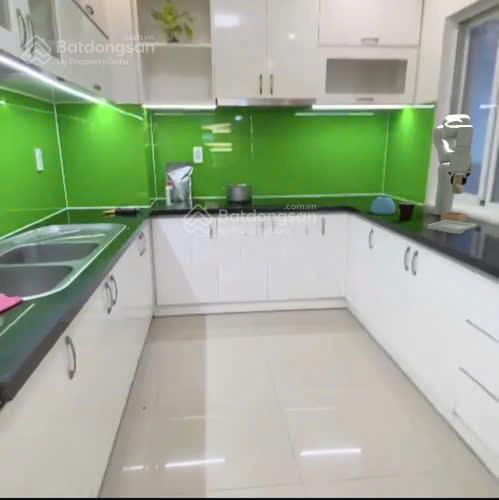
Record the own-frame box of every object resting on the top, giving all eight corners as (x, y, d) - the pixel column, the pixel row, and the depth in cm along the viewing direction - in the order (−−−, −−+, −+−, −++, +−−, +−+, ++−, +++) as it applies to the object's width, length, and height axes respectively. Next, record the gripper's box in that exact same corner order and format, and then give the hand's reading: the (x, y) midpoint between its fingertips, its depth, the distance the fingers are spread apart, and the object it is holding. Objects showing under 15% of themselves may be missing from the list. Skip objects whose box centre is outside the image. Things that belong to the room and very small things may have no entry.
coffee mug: (400, 218, 228) (401, 201, 225) (415, 220, 222) (417, 203, 220) (393, 221, 219) (394, 204, 216) (408, 223, 214) (410, 205, 211)
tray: (427, 229, 200) (427, 224, 199) (445, 224, 212) (445, 219, 211) (458, 234, 188) (458, 229, 187) (475, 228, 200) (476, 224, 199)
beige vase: (449, 193, 211) (452, 174, 209) (454, 192, 214) (456, 174, 212) (459, 194, 208) (462, 175, 205) (463, 193, 210) (466, 174, 208)
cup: (440, 222, 216) (441, 213, 215) (448, 220, 222) (449, 211, 220) (457, 225, 209) (459, 216, 207) (465, 222, 214) (466, 213, 213)
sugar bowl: (397, 212, 249) (398, 194, 246) (392, 216, 236) (394, 197, 233) (373, 210, 256) (374, 193, 253) (367, 214, 244) (369, 195, 241)
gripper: (443, 150, 209) (439, 183, 214) (476, 150, 196) (471, 186, 201) (449, 149, 213) (445, 182, 218) (482, 150, 201) (477, 185, 205)
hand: (458, 184), depth 210 cm, fingers closed on beige vase, 5 cm apart
